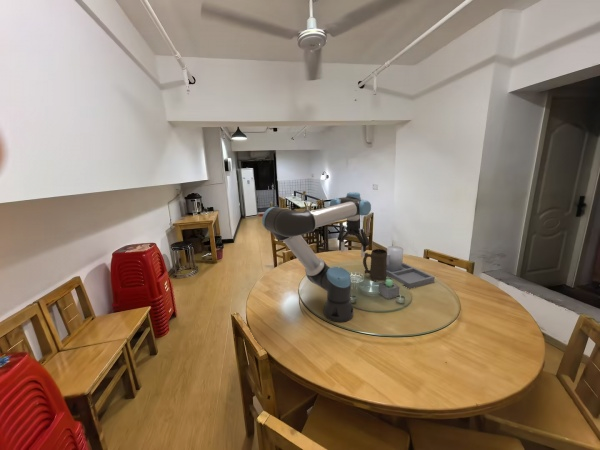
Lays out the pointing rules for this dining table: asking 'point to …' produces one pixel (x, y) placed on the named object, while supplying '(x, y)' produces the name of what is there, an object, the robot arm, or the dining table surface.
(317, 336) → the dining table surface
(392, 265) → the white piece
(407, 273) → the tray
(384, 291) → the grey square hollow block
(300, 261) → the robot arm
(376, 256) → the beer stein
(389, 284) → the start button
